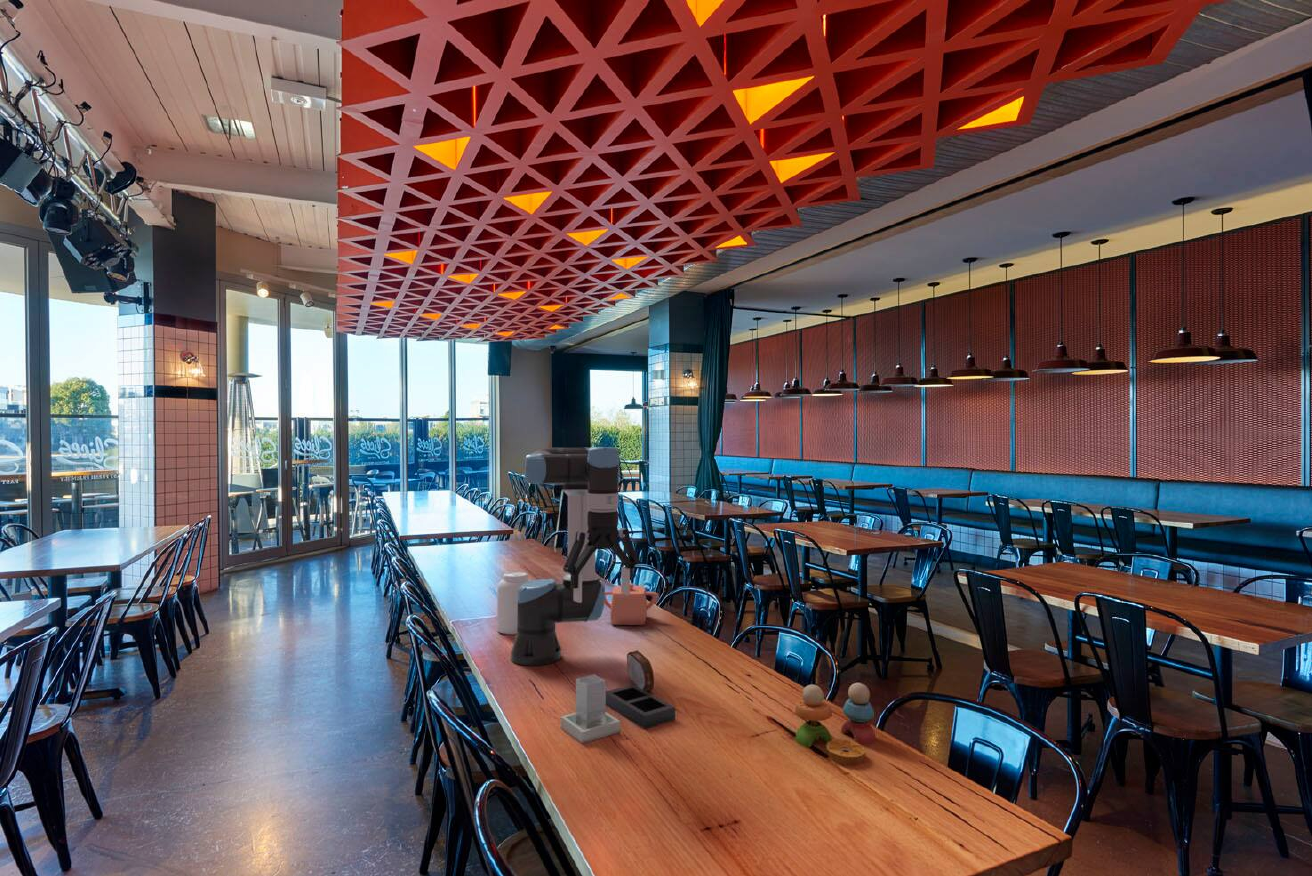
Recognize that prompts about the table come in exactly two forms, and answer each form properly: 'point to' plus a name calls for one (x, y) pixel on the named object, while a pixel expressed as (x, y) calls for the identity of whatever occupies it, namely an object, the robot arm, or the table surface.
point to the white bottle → (509, 601)
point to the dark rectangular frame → (640, 706)
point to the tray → (592, 733)
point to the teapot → (629, 605)
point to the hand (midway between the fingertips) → (602, 597)
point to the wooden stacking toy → (857, 724)
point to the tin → (640, 670)
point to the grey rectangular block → (590, 701)
